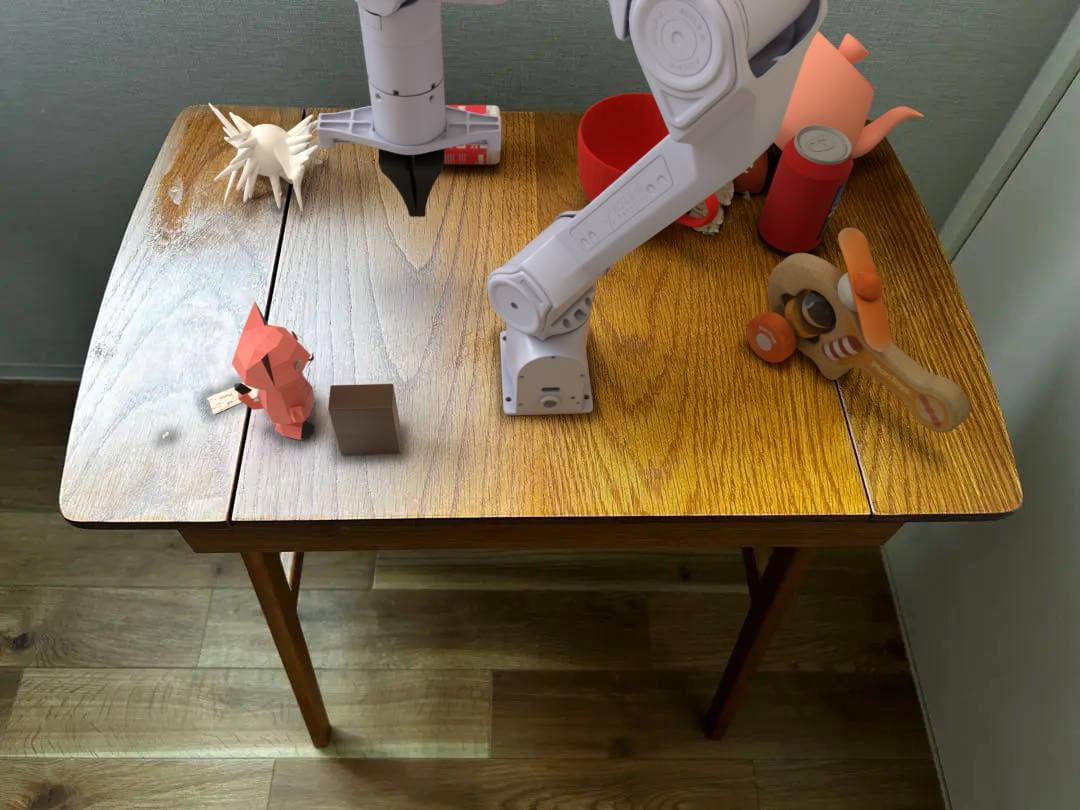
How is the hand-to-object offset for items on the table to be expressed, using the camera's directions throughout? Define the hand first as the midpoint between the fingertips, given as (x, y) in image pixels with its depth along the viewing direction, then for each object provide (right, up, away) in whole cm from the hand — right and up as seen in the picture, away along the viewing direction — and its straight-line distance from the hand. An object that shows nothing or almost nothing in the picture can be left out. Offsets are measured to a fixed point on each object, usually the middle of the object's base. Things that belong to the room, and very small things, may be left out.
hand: (417, 209), depth 75 cm
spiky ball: (-18, +5, +16) cm, 24 cm away
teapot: (+37, +12, +19) cm, 43 cm away
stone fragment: (+29, +8, +13) cm, 33 cm away
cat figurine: (-11, -19, -1) cm, 22 cm away
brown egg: (+31, +11, +17) cm, 37 cm away
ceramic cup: (+22, +2, +15) cm, 27 cm away
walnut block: (-4, -21, -2) cm, 21 cm away
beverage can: (+37, 0, +15) cm, 40 cm away
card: (-18, -18, -1) cm, 26 cm away
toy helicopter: (+38, -15, +5) cm, 41 cm away
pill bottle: (+7, +12, +18) cm, 22 cm away
